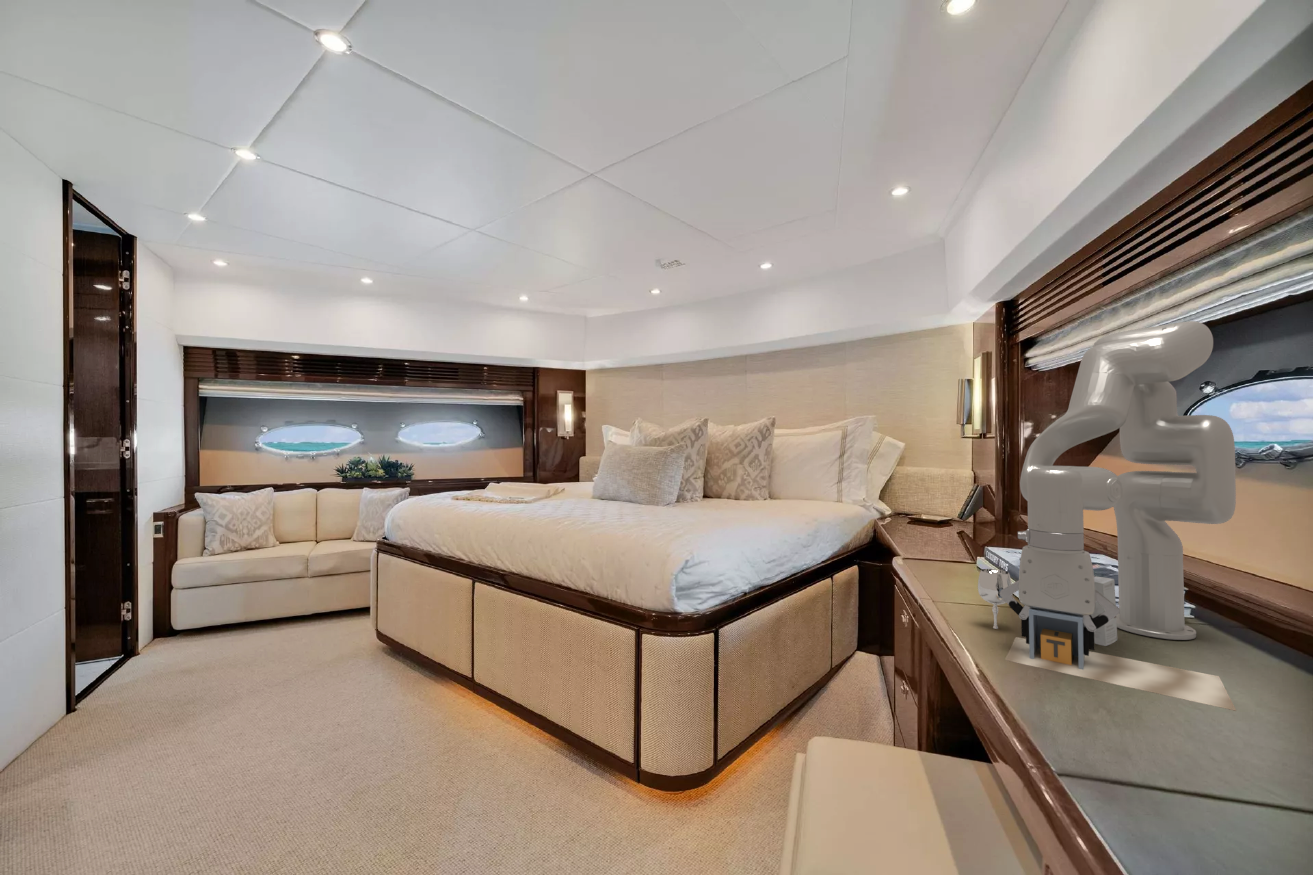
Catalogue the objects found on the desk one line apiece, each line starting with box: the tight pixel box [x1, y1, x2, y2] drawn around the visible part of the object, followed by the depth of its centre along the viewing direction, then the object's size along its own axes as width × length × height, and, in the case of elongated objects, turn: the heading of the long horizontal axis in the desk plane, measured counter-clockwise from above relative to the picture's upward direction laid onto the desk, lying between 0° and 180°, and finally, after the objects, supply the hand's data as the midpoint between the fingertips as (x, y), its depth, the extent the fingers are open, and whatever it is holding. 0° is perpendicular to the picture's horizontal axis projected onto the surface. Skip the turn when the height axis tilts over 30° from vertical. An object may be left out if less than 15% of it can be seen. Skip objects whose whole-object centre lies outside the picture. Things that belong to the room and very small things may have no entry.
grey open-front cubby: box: [1029, 607, 1085, 670], centre depth 88 cm, size 7×7×8 cm
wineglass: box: [977, 568, 1013, 630], centre depth 103 cm, size 6×6×12 cm
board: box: [1004, 636, 1237, 712], centre depth 84 cm, size 26×14×1 cm, turn 49°
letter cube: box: [1041, 629, 1073, 665], centre depth 88 cm, size 4×4×4 cm
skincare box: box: [1091, 575, 1118, 647], centre depth 97 cm, size 6×4×12 cm
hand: (1057, 646), depth 88 cm, fingers closed on grey open-front cubby, 7 cm apart
